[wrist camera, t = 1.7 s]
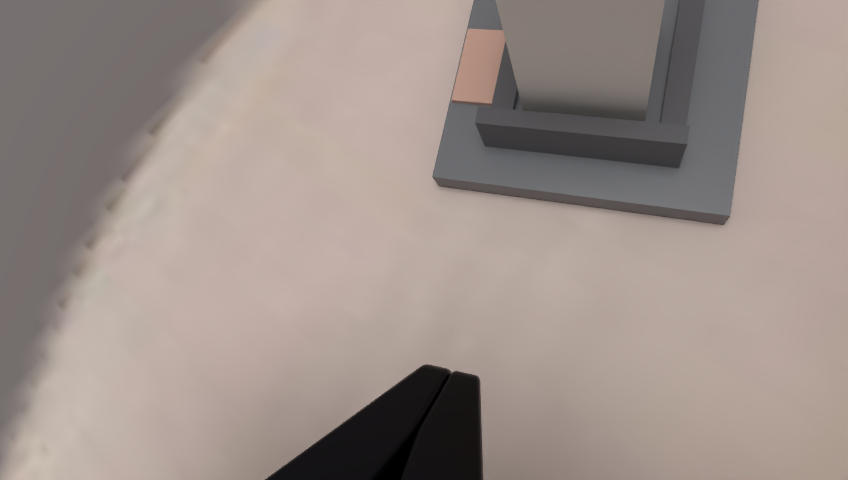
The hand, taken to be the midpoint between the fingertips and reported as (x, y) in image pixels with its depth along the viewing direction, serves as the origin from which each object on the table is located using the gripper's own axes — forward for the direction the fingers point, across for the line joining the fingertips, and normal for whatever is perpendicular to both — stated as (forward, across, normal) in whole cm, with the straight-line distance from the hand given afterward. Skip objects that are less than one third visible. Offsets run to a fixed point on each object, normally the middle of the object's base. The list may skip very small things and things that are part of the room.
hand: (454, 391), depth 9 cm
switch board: (+19, 0, -1) cm, 19 cm away
